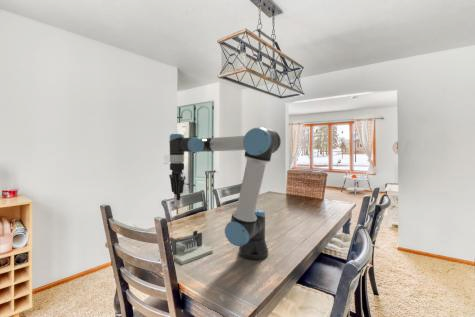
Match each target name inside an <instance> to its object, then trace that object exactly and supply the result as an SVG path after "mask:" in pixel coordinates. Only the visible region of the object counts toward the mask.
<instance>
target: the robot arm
mask: <svg viewBox="0 0 475 317" xmlns="http://www.w3.org/2000/svg"><path fill="white" fill-rule="evenodd" d="M281 140H282V139H281V137H280V134H279V133H278V132H277V131H276V130H273V129H271V128H266V127H265V128H264V127H254V128H251V129H249V130H248V131H247V132H246V133H245V134H244V135H233V136H220V137H219V136H218V137H205V138H203V137H198V136H197V137H195V136H194V137H193V136H192V137H185V135H184V134H182V133H171V134H169V142H168V143H169V162H170V163H169V171H170V170H171V174H168V176H169V182H170V188H171V193H172V194H173V195H174V196H173V205H174V207H180V206H181V194H183V192H184V186H185V185H184V184H185V179H186V176H185V175H183V170H185V163H184V162H185V153H200V152H204V153H205V152H206V153H207V152H226V151H227V152H229V151H232V152H236V151H245V152H244V157H245V159H246V162H245V167H244V171H243V172H244V174H243V178H242V181H241V187H240V191H239V197H238V201H237V205H236V209H235V210H233V211H232V213H231V216H230V218H231V219H230V221H229V222H228V223H227V224H226V225H225V228H224V234H225V238H226V239H227V241H228V242H229V243H230V244H231V245H233V246H235V247H239V248H238V255H239V256H240V257H241V258H243V259H246V260H251V261H258V260H259V261H260V260H263V259H265V258H267V257H268V255H269V248H268V245H267V241H266V218H267V217H266V212H265V210H263V209H259V208H257V205H258V200H259V197H260V192H261V188H262V183H263V179H264V178H263V177H264V174H265V170H266V165H267V164H268V163H270V162H271V158H272V155H273V154H274V153H275V152H277V151H278V150H279V148H280V147H281V143H282V141H281Z"/></svg>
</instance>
